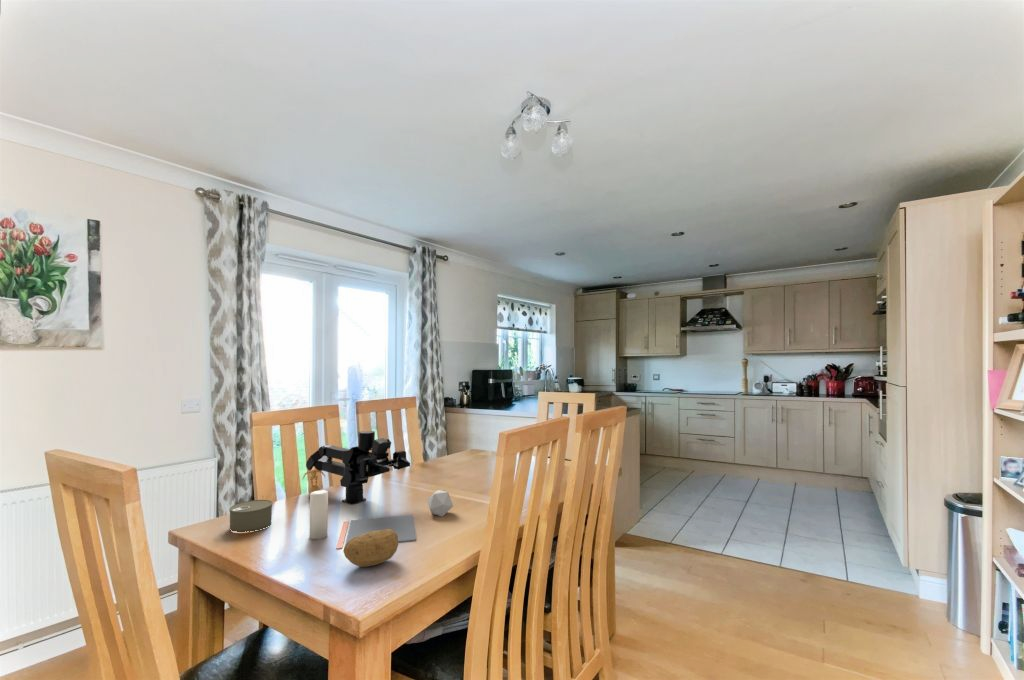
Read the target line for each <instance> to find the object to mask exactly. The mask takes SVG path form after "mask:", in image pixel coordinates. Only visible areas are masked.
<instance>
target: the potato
mask: <svg viewBox="0 0 1024 680" xmlns="http://www.w3.org/2000/svg"><path fill="white" fill-rule="evenodd" d="M345 544H346V543H345ZM343 547H344V548H343V552H342V553H343V555H344V556H345V558H346V559H347V560H348V561H349V563H351V564H353V565H355V566H356V567H357V566H358V567H360V568H362V567H363V568H366V567H373V566H377V565H379V564H381V563H384V562H387V561H388V560H390V559H392V558H393V557H394V556H395V553H396V552H397V549H398V547H399V543H398V536H397V533H396V532H395V531H393V530H391V529H385V530H379V531H371V532H368V533H365V534H363V535H360V536H357V537H354V538H352V539H351V540H350V541H349V542H348V543H347V544H346V545H344V546H343Z"/></svg>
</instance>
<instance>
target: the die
mask: <svg viewBox="0 0 1024 680" xmlns="http://www.w3.org/2000/svg"><path fill="white" fill-rule="evenodd" d="M426 502H427V505H428V509H429V511H430V513H431V514H432V515H434V516H437V515H438V517H441V518H442V517H444V516H445V515H446V514H447V513H448V511H450V510H451V509H452V508H453V507H454V505H453V502H452V499H451V495H450V493H449V492H448V491H445V490H440V489H437V490H436V491H435V492H434V493H433V494H432V495H430V497H428V498H427V499H426Z"/></svg>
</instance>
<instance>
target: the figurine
mask: <svg viewBox="0 0 1024 680" xmlns="http://www.w3.org/2000/svg"><path fill="white" fill-rule="evenodd" d="M318 473H321V474H322V475H323V476H324V478H326V475H325V473H324V471H319V470H317V469H315V467H314V466H313V468H312V469H311V470H310V471H309V470H308V471H306V472H305V473H304V474H303V476H302V481H303V480H304V479H305V477H306V475H308V474H310V476H309V478H310V479H309V480H310V484H311V487H310V488H309V489H308V494H309V495H310V493H312V492H314V491H321V489H320V487H319V486H318V479H319V475H317V474H318ZM313 480H315V485H314V484H313V483H314V482H313Z"/></svg>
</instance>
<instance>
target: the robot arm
mask: <svg viewBox="0 0 1024 680" xmlns="http://www.w3.org/2000/svg"><path fill="white" fill-rule="evenodd" d="M357 436H358V445H356V446H352V447H350V448H345V447H342V446H341V447H340V446H336V445H333V444H327V445H321V446H320V447H319V448H318V449H317V450H316V451H315V452H314V453H312V454H311V455H310V456H309V457H308V459H307V460H306V462H305V466H306V469H307V470H308V472H309V471H310V470H311V469H312V468H313V466H314V467H315V469H317V470H319V471H322V472H327V473H330V474H333V475H338V476H340V477H341V479H340V481H339V482H340V486H341V487H343V488H345V498H344V499H342V500H341V502H343V503H346V504H350V505H355V504H358V503H361V502H364V501H367V498H366V497H364V484H368V483H369V482H368V481H369V478H372V477H374V476H375V477H376V476H378V475H382V474H385V473H389V472H390V469H391V468H390V467H392V468H393V469H394V470H397V471H399V470H402V469H403V470H404V469H405V468H408V467H410V466H411V462H410V461H409V460H407V452H406V451H405V450H398V451H394V452H393V453H392V459H389V455H390V454H389V452H387V451H388V449H389V450H390V449H391V446H392V442H391V440H390V438H383V437H382V438H376V431H374V430H369V431H368V430H367V431H364V430H363V431H362V430H361V431H358V435H357ZM333 459H336V460H339V461H342V462H338V461H336V460H333Z"/></svg>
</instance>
